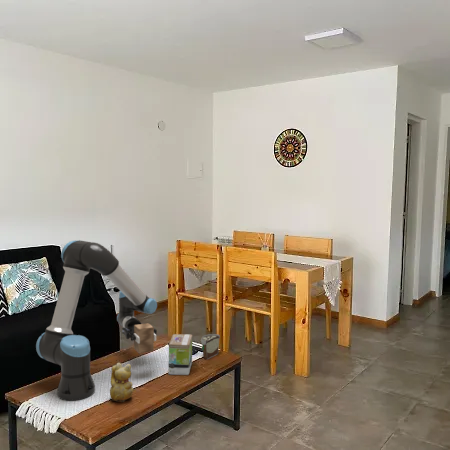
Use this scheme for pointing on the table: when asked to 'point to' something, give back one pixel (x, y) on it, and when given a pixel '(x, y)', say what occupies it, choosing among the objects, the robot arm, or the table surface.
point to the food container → (210, 345)
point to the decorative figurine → (121, 383)
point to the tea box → (180, 354)
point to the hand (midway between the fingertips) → (147, 339)
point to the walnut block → (144, 338)
